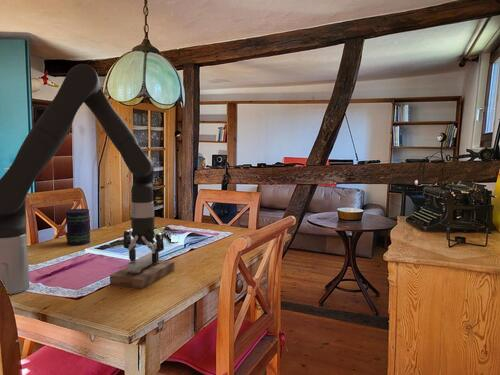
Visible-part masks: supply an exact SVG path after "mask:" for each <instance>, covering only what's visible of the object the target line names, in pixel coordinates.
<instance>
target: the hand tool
mask: <svg viewBox="0 0 500 375" xmlns="http://www.w3.org/2000/svg"><path fill="white" fill-rule="evenodd" d="M165 230H169V231H171V232H173V231H172V230H171V227H169V226H168V225H166V226H164V231H165Z"/></svg>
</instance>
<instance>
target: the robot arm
mask: <svg viewBox="0 0 500 375" xmlns="http://www.w3.org/2000/svg"><path fill="white" fill-rule="evenodd" d="M61 83H62V84H61V86H60V88H59V89H58V91H57V93H56V95H55V96H54V98H53V99H52V101H51V102H50V104H48V105H47V106H46V108H45V110H44V111H43V113H42V114H41V115H40V117H38V120H37V121H36V122H35V123H34V124H33V126H32V128H31V129H30V130H29V132H28V133H27V135H26V137H25V139H24V141H23V142H22V144H21V145H20V148H19V149H18V151H17V154H16V156H15V158H14V159H13V162H12V163H11V165H10V166H9V168H8V169H7V171H6V172H5V173H4V174H3V175H2V176H1V178H0V279H1V280H2V282H3V284H4V285H5V287H6V289H7V292H8V294H9V295H14V294H19V293H22V292H24V291H27V290H28V289H29V288H30V268H29V254H28V237H27V236H28V234H27V232H28V231H27V208H26V207H27V206H26V203H27V202H26V197H27V195H28V193H29V191H30V189H31V187H32V185H33V184H34V182H35V181H36V180H37V177H38V176H39V175H40V173H41V172H42V171H43V170H44V169H45V168H46V166H48V164H49V163H50V161H51V160H52V159H53V158H54V157H55V155H56V154H57V153H58V151H59V150H60V148H61V146H62V145H63V144H64V142H65V140H66V139H67V136H68V134H69V132H70V131H71V130H70V129H71V128H72V125H73V122H74V120H75V117H76V115H77V112H78V111H79V110H80V108H81V106H82V105H83V104H84V105H86V107H87V108H88V109H89V110H90V111H91V113H92V114H93V115H94V116H95V118H96V119H97V121H98V122H99V124H100V125H101V127H102V128H103V130H104V132H105V134H106V136H107V137H108V139H109V140H110V142H111V143H112V144H113V146H114V147H115V148H116V150H117V151H118V152H119V154H120V156H121V158H122V160H123V161H124V164H125V165H126V167H127V169H128V170H129V172H130V173H131V174H132V186H131V190H130V191H131V192H130V193H131V204H130V226H131V227H130V228H131V229H126V230H125V231H123V248H124V249H127V250H128V259H129V261H130V262H132V261H134V260H136V259H137V255H136V253H137V252H136V251H137V250H136V247H137V246H146V247H147V248H148V249H150V251H151V252H152V264H156V263H157V262H158V253H160V252H162V251H164V250H165V247H164V245H165V244H164V233H163V232H158V233H156V232H155V226H156V225H155V204H154V189H153V187H154V186H153V185H154V184H153V183H154V173H155V172H154V169H155V168H154V167H155V166H154V162H153V160H152V158H151V157H149V156H148V155H146V153H145V152H144V151H143V149H142V148H141V146H140V145H139V142H138V139H137V138H136V136H135V135H134V133H133V132H132V130H131V129H130V127H129V126H128V125H127V123H126V122H125V121H124V119H123V118H122V117H121V116H120V115H119V114H118V112H117V111H116V110H115V108H114V107H113V106H112V104H111V103H110V101H109V100H108V98H107V95H106V94H105V93H104V90H103V88H102V86H101V81H100V78H99V75H98V73H97V71H96V69H94V67H93V66H91V65H89V64H86V63H79V64H75V65H74V66H71V68H70V69H69V70H68V72H67V73H66V75H65V77H64V79H63V81H62V82H61ZM132 238H133V239H132ZM9 295H8V296H9Z"/></svg>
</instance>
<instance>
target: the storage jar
mask: <svg viewBox="0 0 500 375" xmlns="http://www.w3.org/2000/svg"><path fill="white" fill-rule="evenodd" d="M90 218H91V217H90V209H88V208H72V209H67V210H65V224H66V235H65V236H66V241H67V242H66V245H67V246H71V247H79V246H80V247H81V246H86V245H89V244H91V230H90Z"/></svg>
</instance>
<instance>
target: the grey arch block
mask: <svg viewBox="0 0 500 375" xmlns="http://www.w3.org/2000/svg"><path fill="white" fill-rule="evenodd" d="M158 260H160V252H158ZM126 264H127V266H126V267H127V269H128V271H129V274H131V275H139V274H141V269H142V268H144V267H146V266H148V265H149V266H156V265H158V262H157V263H156V264H152V251H151V252H149V253H147V254H145V255H142V256H140V257H138V258H136V260H134V261H130V262H128V263H126Z"/></svg>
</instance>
